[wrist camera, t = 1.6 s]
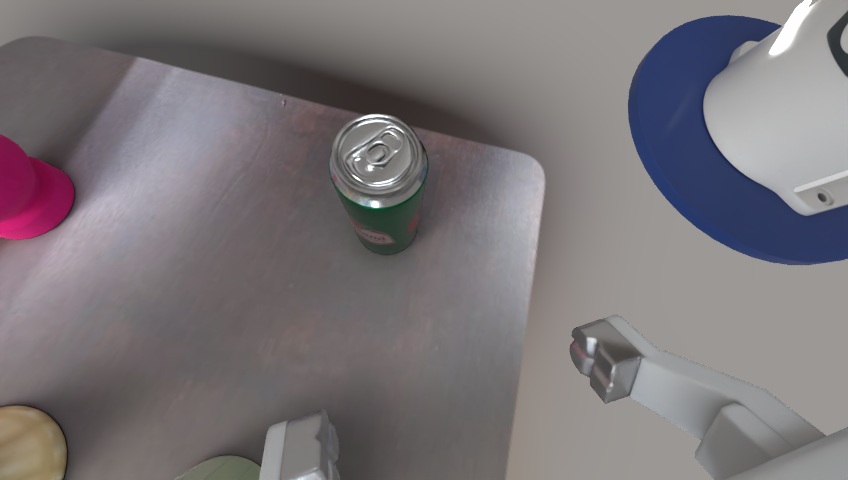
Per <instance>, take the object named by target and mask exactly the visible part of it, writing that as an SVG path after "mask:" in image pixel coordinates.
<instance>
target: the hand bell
mask: <svg viewBox="0 0 848 480" xmlns="http://www.w3.org/2000/svg"><path fill="white" fill-rule="evenodd" d="M66 462H67V448H66V442H65V438H64V435H63V433H62V431H61V429H60V427H59V426H58V424H57V423H56V422H55V421H54V420H53V419H52V418H51V417H50V416H49V415H47V414H46V413H44V412H42V411H40V410H38V409H35V408H31V407H27V406H6V407H0V480H63V478H64V474H65V469H66Z"/></svg>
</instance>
